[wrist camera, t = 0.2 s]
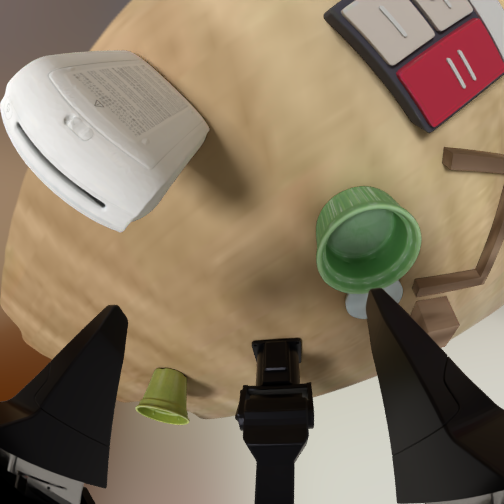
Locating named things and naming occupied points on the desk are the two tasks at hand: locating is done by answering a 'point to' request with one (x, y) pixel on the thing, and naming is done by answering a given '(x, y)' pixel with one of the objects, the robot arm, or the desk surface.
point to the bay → (499, 232)
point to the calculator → (426, 50)
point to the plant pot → (165, 397)
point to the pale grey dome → (358, 301)
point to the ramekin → (365, 240)
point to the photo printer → (102, 131)
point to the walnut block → (436, 319)
